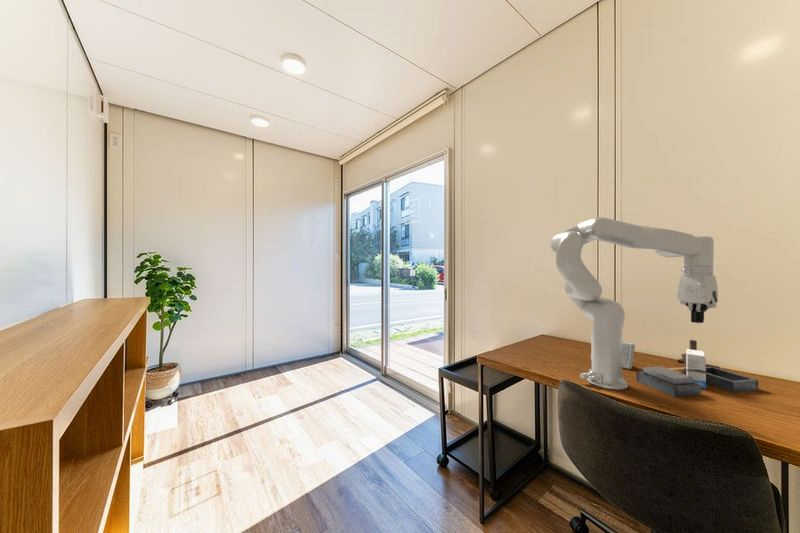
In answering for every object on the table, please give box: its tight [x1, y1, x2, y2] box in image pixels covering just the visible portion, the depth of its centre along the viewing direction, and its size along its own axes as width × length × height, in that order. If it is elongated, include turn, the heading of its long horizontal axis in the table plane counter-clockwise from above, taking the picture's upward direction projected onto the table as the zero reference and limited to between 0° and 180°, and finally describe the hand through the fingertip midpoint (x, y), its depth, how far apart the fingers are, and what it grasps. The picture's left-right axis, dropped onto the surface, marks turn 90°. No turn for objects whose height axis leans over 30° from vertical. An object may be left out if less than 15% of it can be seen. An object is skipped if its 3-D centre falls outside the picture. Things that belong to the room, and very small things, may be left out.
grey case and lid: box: [636, 365, 759, 398], centre depth 108 cm, size 33×14×6 cm, turn 97°
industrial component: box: [680, 339, 707, 367], centre depth 124 cm, size 9×7×12 cm
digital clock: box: [590, 340, 636, 370], centre depth 132 cm, size 16×9×11 cm, turn 21°
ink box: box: [685, 348, 707, 390], centre depth 110 cm, size 9×5×12 cm, turn 137°
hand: (697, 322), depth 107 cm, fingers closed
